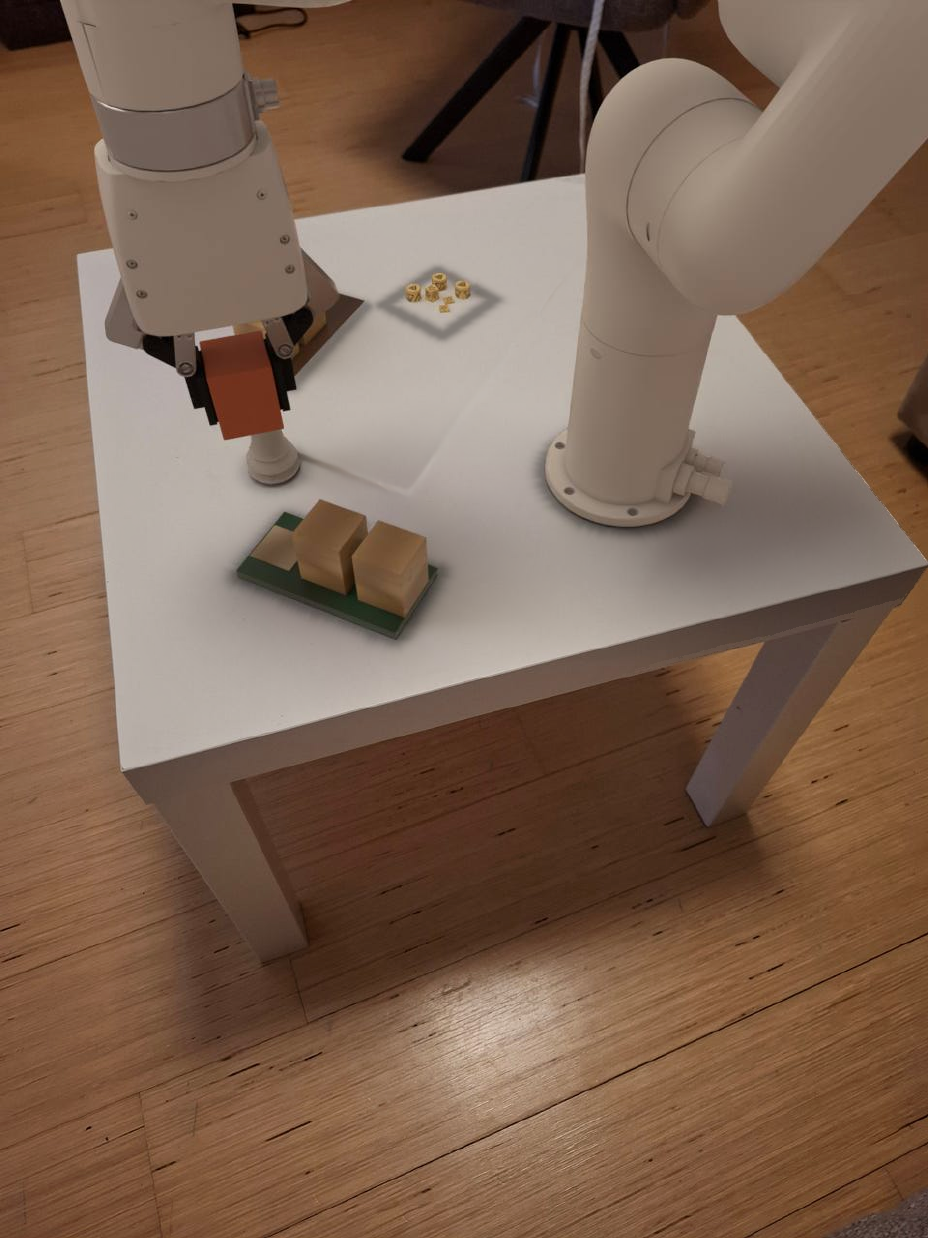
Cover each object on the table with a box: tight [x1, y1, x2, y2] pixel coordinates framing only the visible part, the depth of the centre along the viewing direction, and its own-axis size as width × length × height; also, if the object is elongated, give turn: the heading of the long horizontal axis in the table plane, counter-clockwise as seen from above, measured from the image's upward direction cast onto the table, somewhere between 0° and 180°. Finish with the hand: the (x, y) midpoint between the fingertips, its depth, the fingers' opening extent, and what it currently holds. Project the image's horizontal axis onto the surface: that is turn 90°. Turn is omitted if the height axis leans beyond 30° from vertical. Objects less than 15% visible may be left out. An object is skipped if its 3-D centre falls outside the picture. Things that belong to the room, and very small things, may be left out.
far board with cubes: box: [232, 292, 365, 378], centre depth 87 cm, size 7×14×6 cm, turn 154°
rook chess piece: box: [245, 429, 301, 486], centre depth 75 cm, size 4×4×8 cm
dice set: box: [405, 272, 471, 314], centre depth 92 cm, size 5×5×2 cm
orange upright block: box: [199, 331, 285, 441], centre depth 59 cm, size 4×4×5 cm
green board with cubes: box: [235, 498, 439, 640], centre depth 69 cm, size 14×7×6 cm, turn 64°
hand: (246, 402), depth 60 cm, fingers closed on orange upright block, 4 cm apart
